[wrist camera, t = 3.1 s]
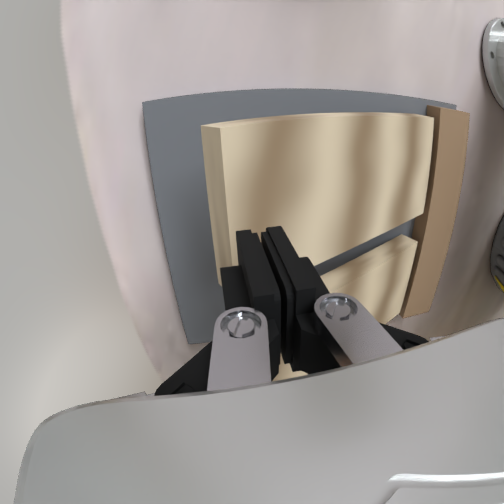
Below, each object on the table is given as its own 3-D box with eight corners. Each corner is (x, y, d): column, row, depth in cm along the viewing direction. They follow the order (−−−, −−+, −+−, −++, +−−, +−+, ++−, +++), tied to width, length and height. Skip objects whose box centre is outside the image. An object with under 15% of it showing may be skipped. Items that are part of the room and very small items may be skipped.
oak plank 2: (401, 234, 29) (417, 241, 27) (386, 304, 33) (399, 312, 32) (224, 321, 20) (240, 339, 18) (236, 397, 24) (249, 413, 23)
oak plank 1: (414, 113, 23) (434, 117, 21) (406, 206, 27) (423, 213, 26) (200, 125, 14) (220, 127, 12) (218, 283, 18) (235, 300, 17)
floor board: (446, 103, 24) (469, 108, 21) (413, 297, 36) (427, 314, 33) (145, 101, 21) (136, 103, 18) (188, 334, 33) (188, 357, 30)
